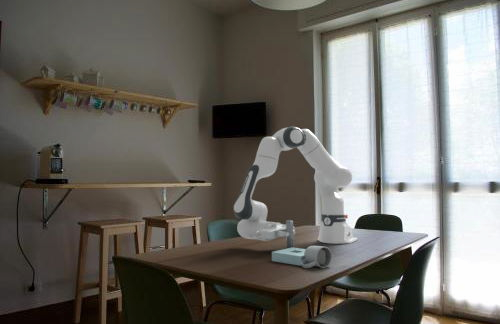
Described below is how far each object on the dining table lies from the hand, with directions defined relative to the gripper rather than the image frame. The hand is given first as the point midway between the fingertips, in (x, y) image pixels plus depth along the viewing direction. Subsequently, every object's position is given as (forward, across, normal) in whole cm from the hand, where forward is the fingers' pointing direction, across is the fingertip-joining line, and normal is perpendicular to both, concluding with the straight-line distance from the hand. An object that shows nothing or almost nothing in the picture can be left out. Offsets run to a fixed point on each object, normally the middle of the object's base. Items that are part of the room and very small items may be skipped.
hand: (291, 233), depth 168 cm
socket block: (+9, -10, +9) cm, 16 cm away
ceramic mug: (+20, -14, +9) cm, 26 cm away
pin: (-1, 0, +6) cm, 7 cm away
